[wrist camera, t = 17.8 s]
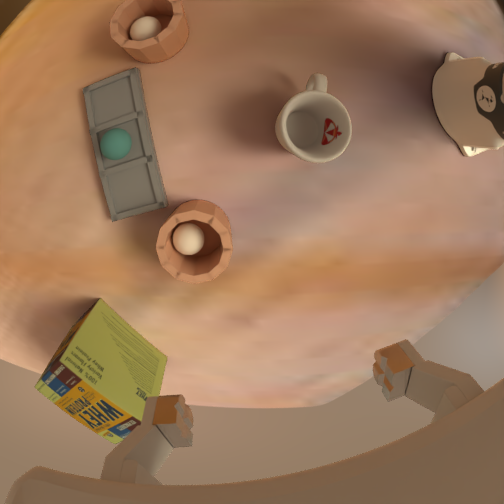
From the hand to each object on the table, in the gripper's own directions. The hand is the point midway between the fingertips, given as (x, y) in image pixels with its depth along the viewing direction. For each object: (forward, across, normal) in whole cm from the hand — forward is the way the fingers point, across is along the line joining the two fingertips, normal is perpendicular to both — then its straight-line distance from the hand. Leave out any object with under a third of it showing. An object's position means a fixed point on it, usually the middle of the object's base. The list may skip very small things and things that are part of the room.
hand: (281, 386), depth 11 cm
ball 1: (+26, +13, -13) cm, 32 cm away
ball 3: (+26, +7, +1) cm, 27 cm away
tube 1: (+29, +6, -27) cm, 40 cm away
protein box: (+29, +25, +16) cm, 42 cm away
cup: (+29, -10, -11) cm, 33 cm away
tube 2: (+29, +6, +1) cm, 30 cm away
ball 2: (+26, +7, -27) cm, 39 cm away
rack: (+29, +13, -13) cm, 34 cm away
